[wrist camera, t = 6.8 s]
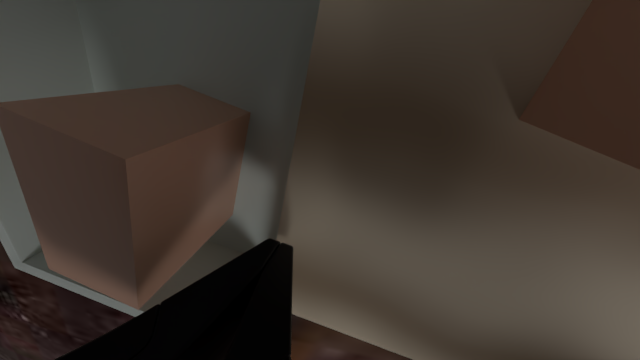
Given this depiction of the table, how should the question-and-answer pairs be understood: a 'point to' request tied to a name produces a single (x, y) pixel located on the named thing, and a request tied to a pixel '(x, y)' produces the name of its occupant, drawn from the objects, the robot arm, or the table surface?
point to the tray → (159, 70)
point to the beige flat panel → (455, 190)
